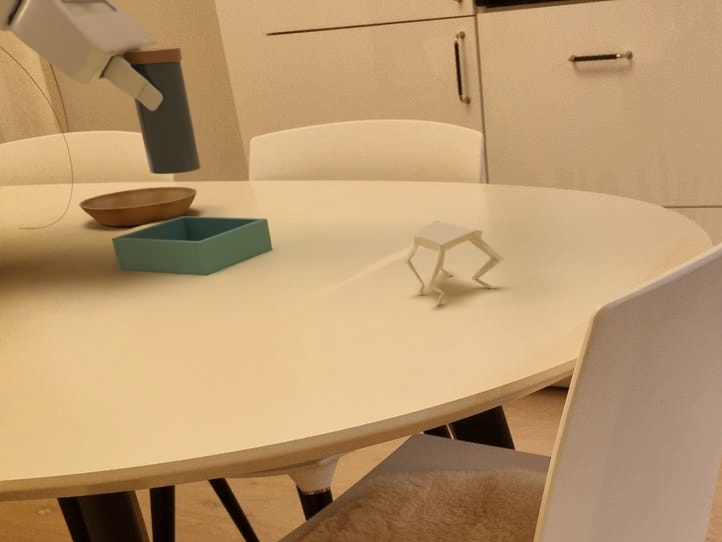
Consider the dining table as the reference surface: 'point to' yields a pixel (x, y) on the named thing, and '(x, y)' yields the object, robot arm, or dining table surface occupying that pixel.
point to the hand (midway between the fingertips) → (168, 101)
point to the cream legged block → (445, 238)
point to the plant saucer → (139, 205)
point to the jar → (166, 112)
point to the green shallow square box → (192, 245)
